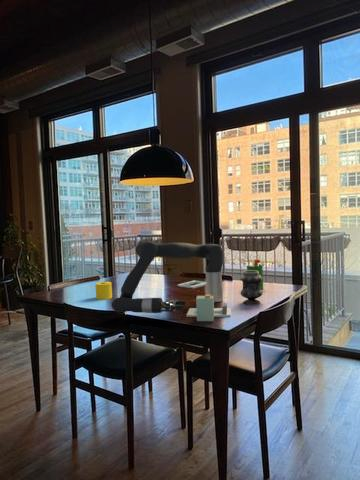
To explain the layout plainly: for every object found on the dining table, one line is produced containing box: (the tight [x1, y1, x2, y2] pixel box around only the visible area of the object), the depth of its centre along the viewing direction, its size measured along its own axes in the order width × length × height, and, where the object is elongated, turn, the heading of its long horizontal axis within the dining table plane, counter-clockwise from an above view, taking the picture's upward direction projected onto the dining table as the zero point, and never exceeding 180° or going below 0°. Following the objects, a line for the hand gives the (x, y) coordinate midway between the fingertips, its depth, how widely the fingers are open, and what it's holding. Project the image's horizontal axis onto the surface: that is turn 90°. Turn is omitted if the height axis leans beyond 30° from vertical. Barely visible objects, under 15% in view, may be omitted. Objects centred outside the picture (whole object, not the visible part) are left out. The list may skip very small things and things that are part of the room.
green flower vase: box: [246, 258, 264, 291], centre depth 246 cm, size 10×9×20 cm
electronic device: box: [176, 280, 206, 289], centre depth 268 cm, size 18×2×15 cm
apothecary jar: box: [239, 269, 263, 306], centre depth 210 cm, size 12×12×18 cm
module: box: [195, 294, 215, 322], centre depth 182 cm, size 8×6×12 cm
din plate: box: [186, 302, 232, 318], centre depth 193 cm, size 22×12×5 cm, turn 81°
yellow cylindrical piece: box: [95, 281, 113, 301], centre depth 239 cm, size 10×10×9 cm
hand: (184, 305), depth 184 cm, fingers open, 8 cm apart
